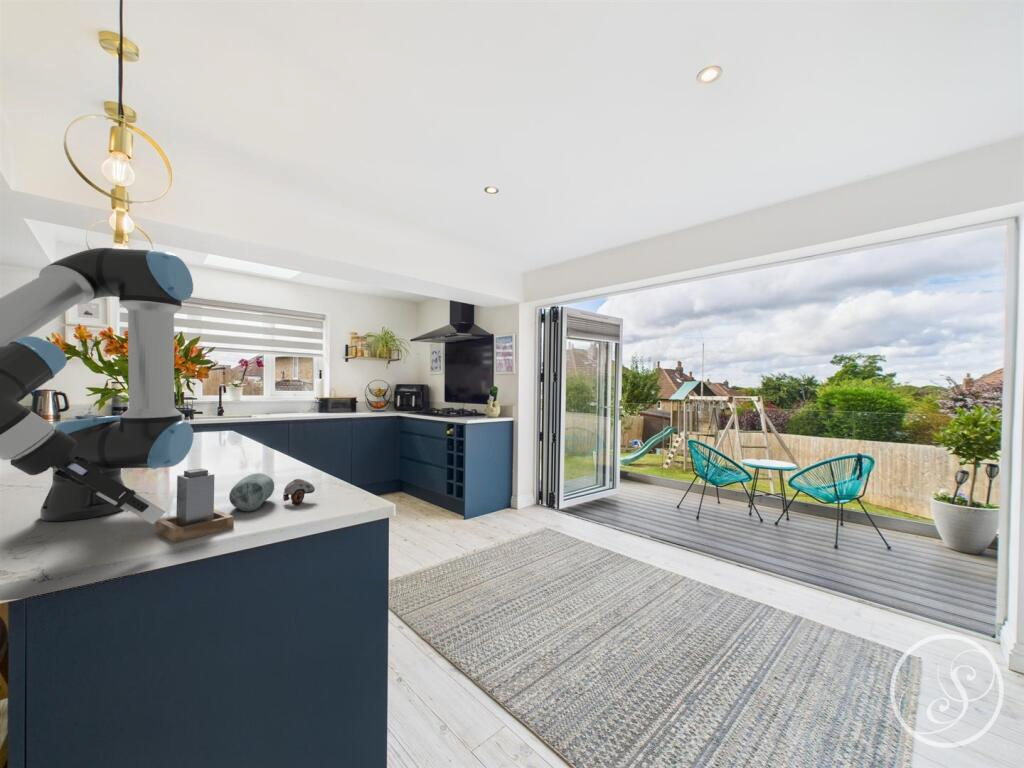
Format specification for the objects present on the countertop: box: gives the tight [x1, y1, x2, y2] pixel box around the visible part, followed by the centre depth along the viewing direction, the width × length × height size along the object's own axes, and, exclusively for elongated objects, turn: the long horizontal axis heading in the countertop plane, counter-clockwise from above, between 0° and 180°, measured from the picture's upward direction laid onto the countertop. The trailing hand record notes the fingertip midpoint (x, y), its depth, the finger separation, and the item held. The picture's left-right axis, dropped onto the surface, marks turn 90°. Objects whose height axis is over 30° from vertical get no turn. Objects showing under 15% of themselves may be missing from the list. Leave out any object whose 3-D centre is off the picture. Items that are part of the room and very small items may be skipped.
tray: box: [155, 508, 235, 543], centre depth 88 cm, size 10×10×2 cm
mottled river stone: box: [228, 472, 275, 512], centre depth 106 cm, size 14×10×10 cm
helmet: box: [282, 478, 316, 506], centre depth 109 cm, size 6×8×7 cm
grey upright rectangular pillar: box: [175, 468, 215, 527], centre depth 88 cm, size 5×5×13 cm
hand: (145, 511), depth 81 cm, fingers open, 13 cm apart
